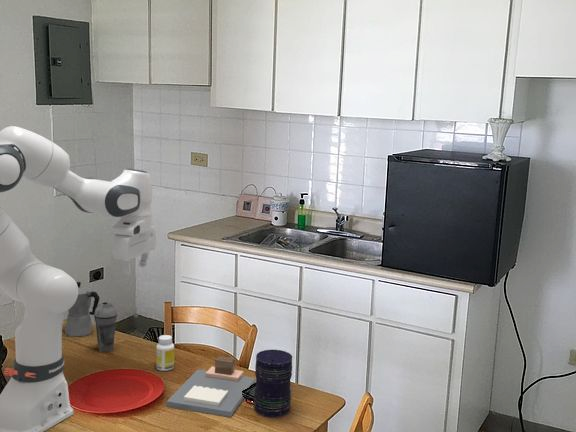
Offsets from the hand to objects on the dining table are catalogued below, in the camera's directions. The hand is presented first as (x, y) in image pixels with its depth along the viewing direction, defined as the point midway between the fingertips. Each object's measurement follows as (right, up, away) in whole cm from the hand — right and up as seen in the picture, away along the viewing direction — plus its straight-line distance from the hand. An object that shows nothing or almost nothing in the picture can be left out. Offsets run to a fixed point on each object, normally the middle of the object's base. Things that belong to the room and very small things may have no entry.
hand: (135, 270), depth 190 cm
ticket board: (+24, -34, -10) cm, 43 cm away
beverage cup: (-14, -27, +19) cm, 36 cm away
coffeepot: (-26, -25, +32) cm, 48 cm away
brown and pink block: (+26, -31, -1) cm, 41 cm away
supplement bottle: (+7, -31, +6) cm, 32 cm away
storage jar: (+41, -36, -17) cm, 57 cm away
